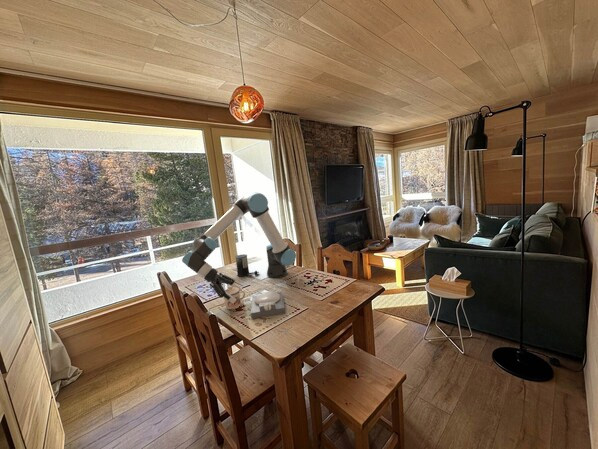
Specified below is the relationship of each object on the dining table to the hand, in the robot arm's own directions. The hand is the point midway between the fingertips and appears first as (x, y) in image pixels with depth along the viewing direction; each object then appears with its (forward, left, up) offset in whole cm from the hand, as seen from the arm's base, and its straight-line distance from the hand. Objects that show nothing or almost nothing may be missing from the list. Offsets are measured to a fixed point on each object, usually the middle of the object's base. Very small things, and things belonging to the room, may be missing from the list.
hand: (238, 296), depth 142 cm
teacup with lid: (0, -2, -5) cm, 6 cm away
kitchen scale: (+8, +16, -5) cm, 18 cm away
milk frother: (-50, +2, -6) cm, 50 cm away
